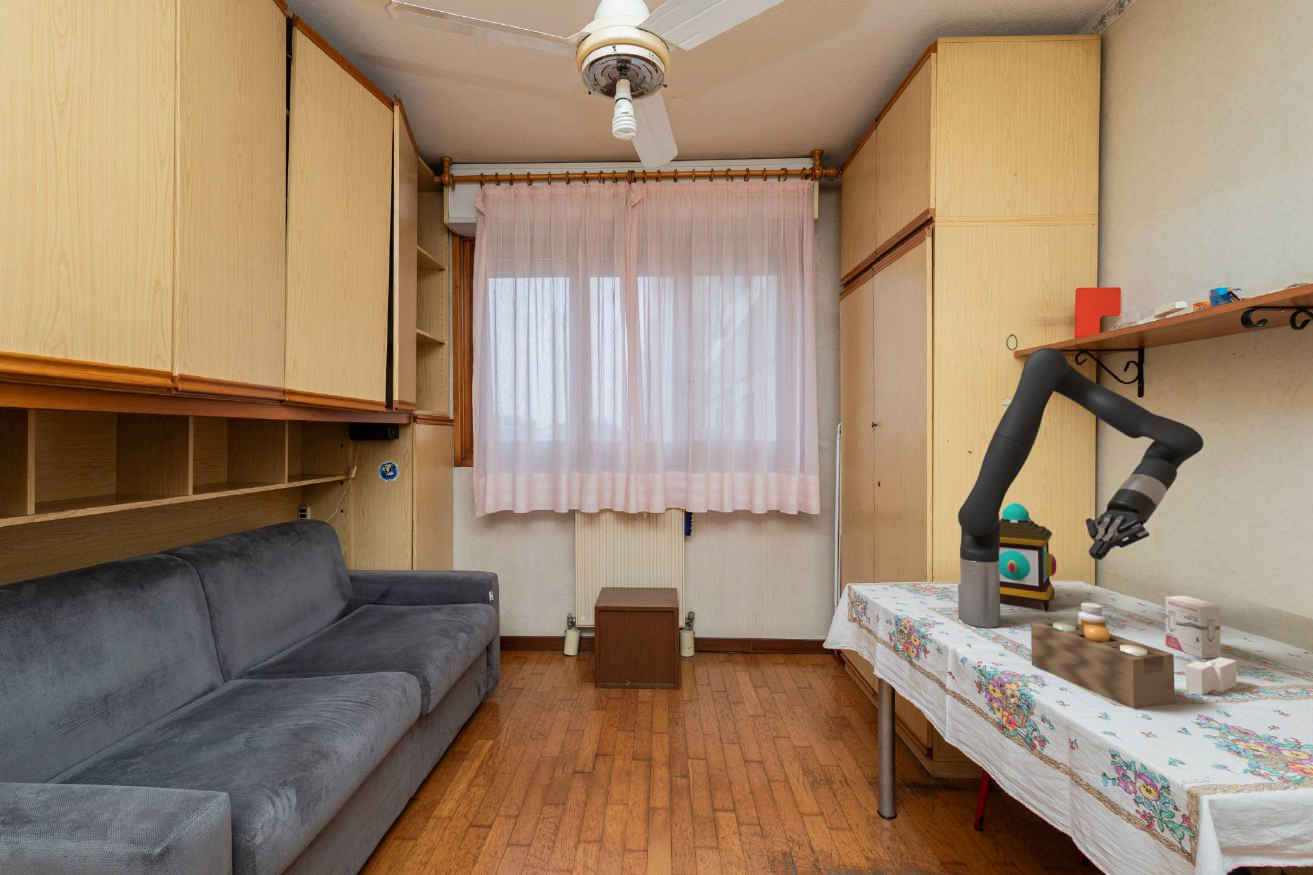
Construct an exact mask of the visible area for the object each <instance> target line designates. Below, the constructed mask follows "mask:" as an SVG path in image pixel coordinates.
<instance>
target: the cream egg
mask: <svg viewBox="0 0 1313 875" xmlns="http://www.w3.org/2000/svg"><path fill="white" fill-rule="evenodd" d="M1120 650H1121V651H1124V652H1127V653H1130V654H1132V655H1135V656H1142V655H1147V650H1146V649H1144V648H1142V647H1138V646H1133V645H1120Z"/></svg>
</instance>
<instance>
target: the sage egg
mask: <svg viewBox="0 0 1313 875" xmlns="http://www.w3.org/2000/svg"><path fill="white" fill-rule="evenodd" d="M1053 627H1054V628H1057V629H1060V630H1063V631H1065V632H1067V631H1076V627H1075V626H1074V625H1071V624H1067V623H1060V622H1056V623H1053Z"/></svg>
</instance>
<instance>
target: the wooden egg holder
mask: <svg viewBox="0 0 1313 875" xmlns="http://www.w3.org/2000/svg"><path fill="white" fill-rule="evenodd" d="M1056 622H1060V623H1067V624H1071V625H1074V626H1075V627H1076V631H1067V632H1065V631H1063V630H1060V629H1057V628H1054V627H1053V623H1056ZM1030 635H1031V636H1030V637H1031V638H1030V639H1031V640H1030V641H1031V643H1030V644H1031V646H1030V647H1031V648H1030V649H1031V666H1033V667H1035V668H1037V669H1039V670H1043V671H1044V672H1046V673H1049V674H1051V675H1054V676H1056V677H1059V678H1060V679H1063V680H1065V681H1067V682H1070V683H1072V684H1074V685H1077V686H1080V687H1082V688H1084V689H1086V690H1089V691H1091V692H1094V693H1095V694H1098V695H1100V696H1103V697H1104V698H1107V699H1109V700H1112V701H1114V702H1117V703H1119V704H1122V705H1123V706H1125V707H1128V708H1130V709H1133V708H1134V709H1133V710H1136V709H1135V708H1137V709H1143V708H1148V706H1149V707H1153V706H1160V705H1167V704H1171V703H1170V702H1173V703H1175V702H1176V701H1175V700H1176V698H1175V697H1176V696H1175V693H1176V692H1175V659H1174V657H1175V656H1174V655H1175V654H1174V653H1171V652H1168V651H1166V650H1162V649H1159V648H1156V647H1153V646H1150V645H1147V644H1144V643H1140V642H1137V641H1134V640H1131V639H1128V638H1126V637H1125V638H1124V637H1121V636H1120V635H1115V634H1112V633H1109V642H1104V643H1098V642H1095V641H1092V640H1089V639H1086V638H1084V625H1081V624H1078V622H1075V621H1072V620H1068V619H1065V620H1064V619H1063V620H1057V621H1055V620H1054V621H1046V622H1036V623H1030ZM1120 645H1133V646H1138V647H1142V648H1144V649H1146V650H1147V655H1142V656H1135V655H1132V654H1130V653H1127V652H1124V651H1121V650H1120ZM1142 707H1143V708H1142Z"/></svg>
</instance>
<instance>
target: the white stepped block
mask: <svg viewBox="0 0 1313 875" xmlns="http://www.w3.org/2000/svg"><path fill="white" fill-rule="evenodd" d="M1237 681H1238V680H1237V660H1234V659H1229V658H1225V657H1222V656H1221V657H1215V658H1214V659H1212V660H1208V661H1206V662H1202V661H1198V660H1196V661H1194V662H1191V663H1188V664H1186V665H1185V683H1186V684H1185V689H1186V690H1185V691H1188V692H1191V693H1195V694H1197V693H1198V694H1197V695H1201V696H1203V695H1205V694H1207V693H1210V692H1212V691H1215V692H1218V693H1222V692H1225V691H1227V690H1229V689H1232V688H1234V687H1236V686H1237ZM1209 691H1210V692H1209ZM1204 693H1205V694H1204Z"/></svg>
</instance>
